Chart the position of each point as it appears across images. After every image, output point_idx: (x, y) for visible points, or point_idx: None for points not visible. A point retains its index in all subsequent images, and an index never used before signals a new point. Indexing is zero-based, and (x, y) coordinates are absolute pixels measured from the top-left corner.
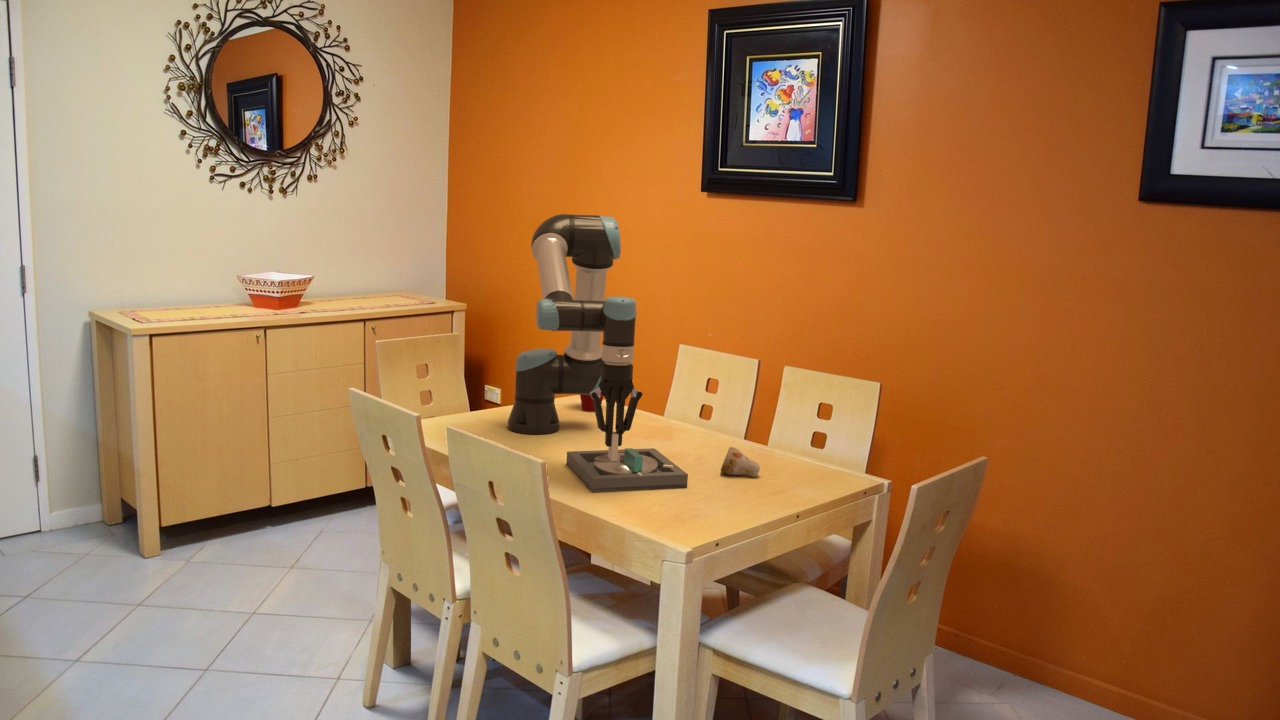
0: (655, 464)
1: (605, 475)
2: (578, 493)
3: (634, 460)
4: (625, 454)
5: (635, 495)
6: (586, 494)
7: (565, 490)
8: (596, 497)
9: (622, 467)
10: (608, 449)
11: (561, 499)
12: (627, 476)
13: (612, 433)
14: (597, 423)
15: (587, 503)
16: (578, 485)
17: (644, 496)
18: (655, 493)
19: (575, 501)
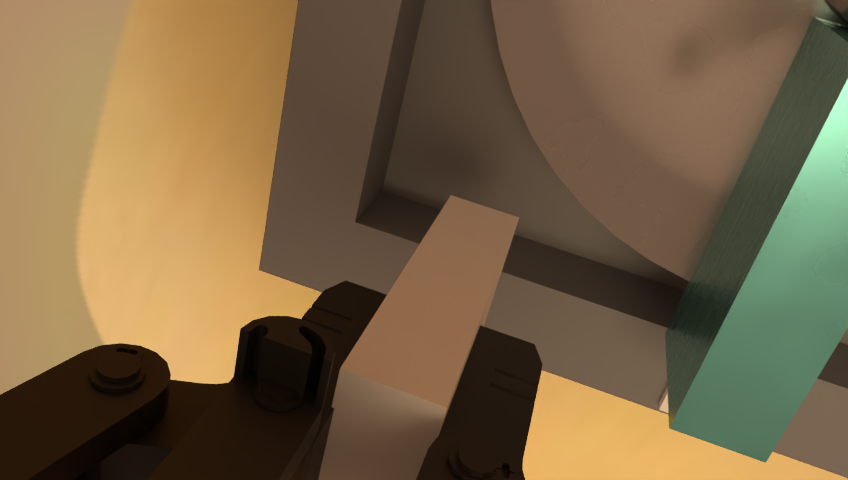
0: None
1: (391, 249)
2: (213, 189)
3: (672, 394)
4: (816, 89)
5: (550, 404)
6: (254, 231)
7: (152, 91)
8: (289, 309)
9: (675, 150)
10: (425, 236)
11: (79, 235)
12: (552, 357)
13: (332, 473)
14: (5, 403)
15: (196, 363)
16: (283, 25)
17: (594, 447)
18: (713, 445)
19: (144, 303)
